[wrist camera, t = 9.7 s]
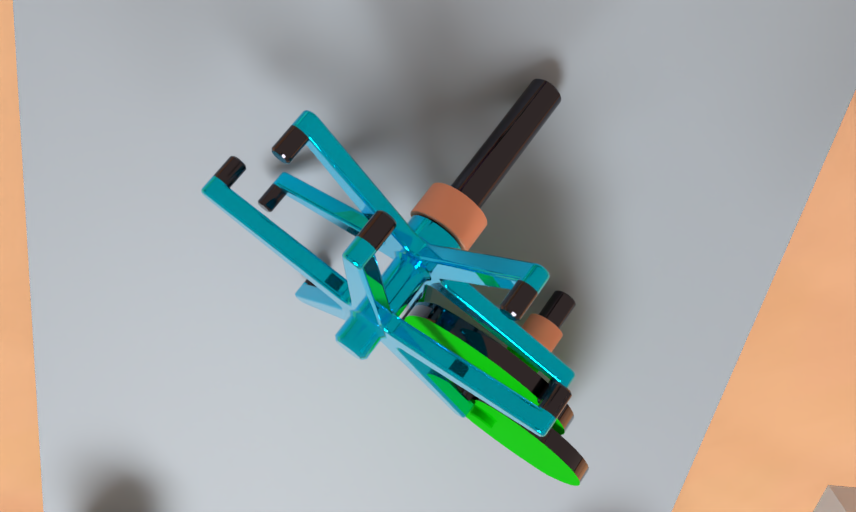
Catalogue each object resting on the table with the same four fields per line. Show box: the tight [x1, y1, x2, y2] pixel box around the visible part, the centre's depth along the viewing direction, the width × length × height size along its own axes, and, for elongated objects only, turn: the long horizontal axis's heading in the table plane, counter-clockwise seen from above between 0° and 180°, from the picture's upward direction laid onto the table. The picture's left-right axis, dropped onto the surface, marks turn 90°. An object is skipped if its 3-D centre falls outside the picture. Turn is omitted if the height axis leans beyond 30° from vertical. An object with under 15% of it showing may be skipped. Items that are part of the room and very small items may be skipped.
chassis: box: [13, 0, 856, 512], centre depth 18 cm, size 18×25×4 cm
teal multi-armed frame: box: [201, 79, 589, 486], centre depth 17 cm, size 12×7×8 cm
